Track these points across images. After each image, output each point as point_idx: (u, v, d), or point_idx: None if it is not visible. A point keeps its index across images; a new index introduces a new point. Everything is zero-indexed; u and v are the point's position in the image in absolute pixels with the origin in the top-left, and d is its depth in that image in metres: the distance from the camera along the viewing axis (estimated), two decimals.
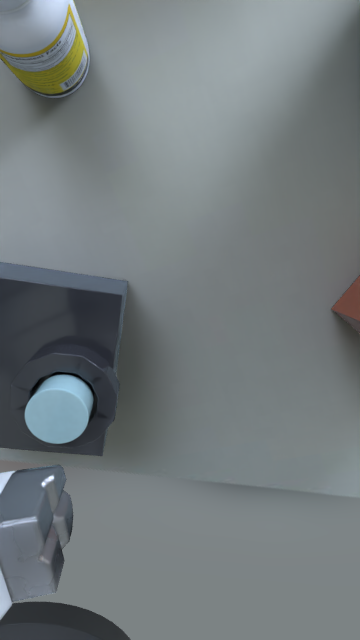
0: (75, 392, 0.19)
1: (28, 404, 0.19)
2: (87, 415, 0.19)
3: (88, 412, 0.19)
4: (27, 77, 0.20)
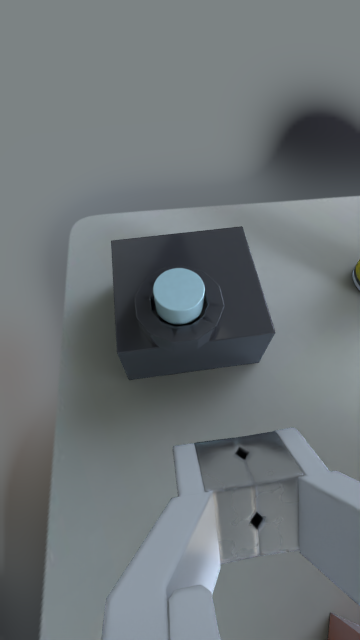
0: (203, 297, 0.23)
1: (184, 269, 0.24)
2: (186, 309, 0.22)
3: (188, 310, 0.22)
4: None
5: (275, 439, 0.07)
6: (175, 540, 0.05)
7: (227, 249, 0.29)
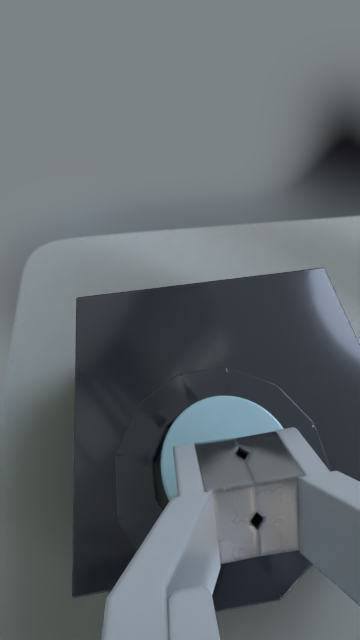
0: None
1: (239, 398, 0.10)
2: None
3: None
4: None
5: (275, 439, 0.07)
6: (175, 540, 0.05)
7: (303, 315, 0.15)
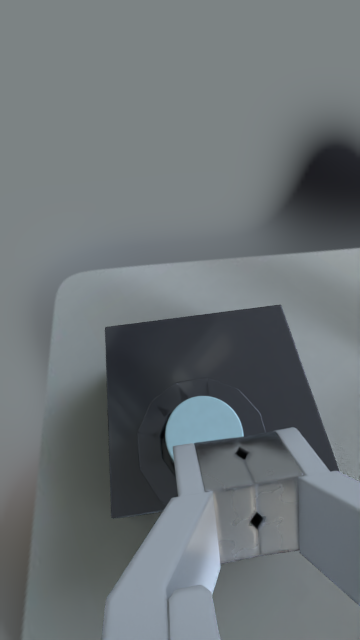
0: None
1: (211, 397, 0.16)
2: None
3: None
4: None
5: (275, 439, 0.07)
6: (175, 540, 0.05)
7: (263, 340, 0.21)
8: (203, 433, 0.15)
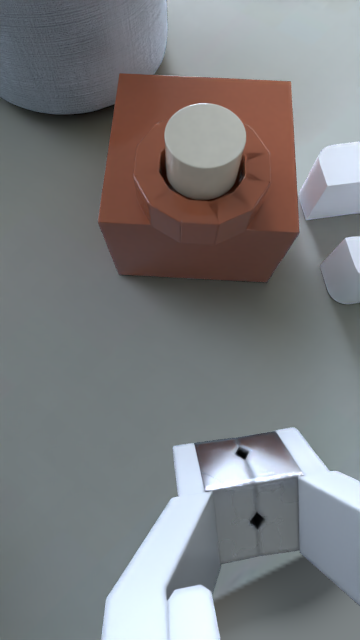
0: None
1: None
2: None
3: None
4: None
5: (275, 439, 0.07)
6: (175, 540, 0.05)
7: None
8: None
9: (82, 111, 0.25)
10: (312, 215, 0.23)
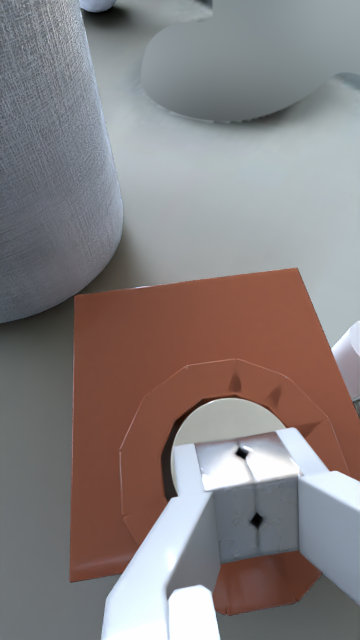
0: None
1: None
2: None
3: None
4: None
5: (275, 439, 0.07)
6: (175, 540, 0.05)
7: None
8: None
9: (33, 314, 0.20)
10: (352, 400, 0.18)
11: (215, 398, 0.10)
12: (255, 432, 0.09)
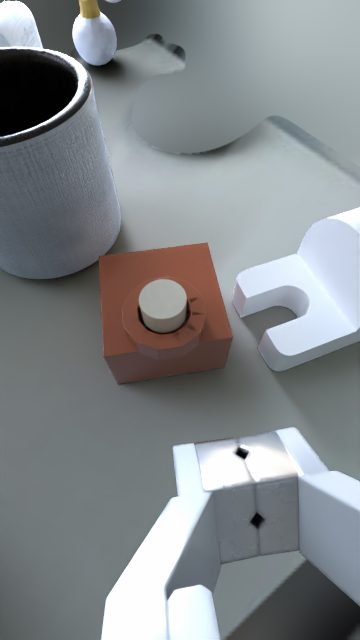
0: None
1: None
2: None
3: None
4: None
5: (275, 439, 0.07)
6: (175, 540, 0.05)
7: None
8: None
9: (71, 273, 0.35)
10: (243, 314, 0.33)
11: None
12: (171, 289, 0.24)
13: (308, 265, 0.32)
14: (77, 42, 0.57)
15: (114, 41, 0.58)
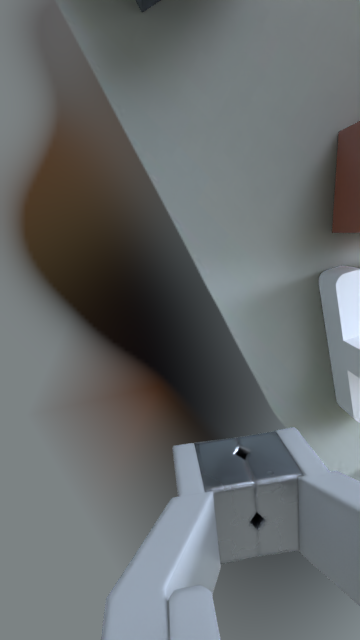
0: None
1: None
2: None
3: None
4: None
5: (275, 439, 0.07)
6: (175, 540, 0.05)
7: None
8: None
9: None
10: None
11: None
12: None
13: None
14: None
15: None
